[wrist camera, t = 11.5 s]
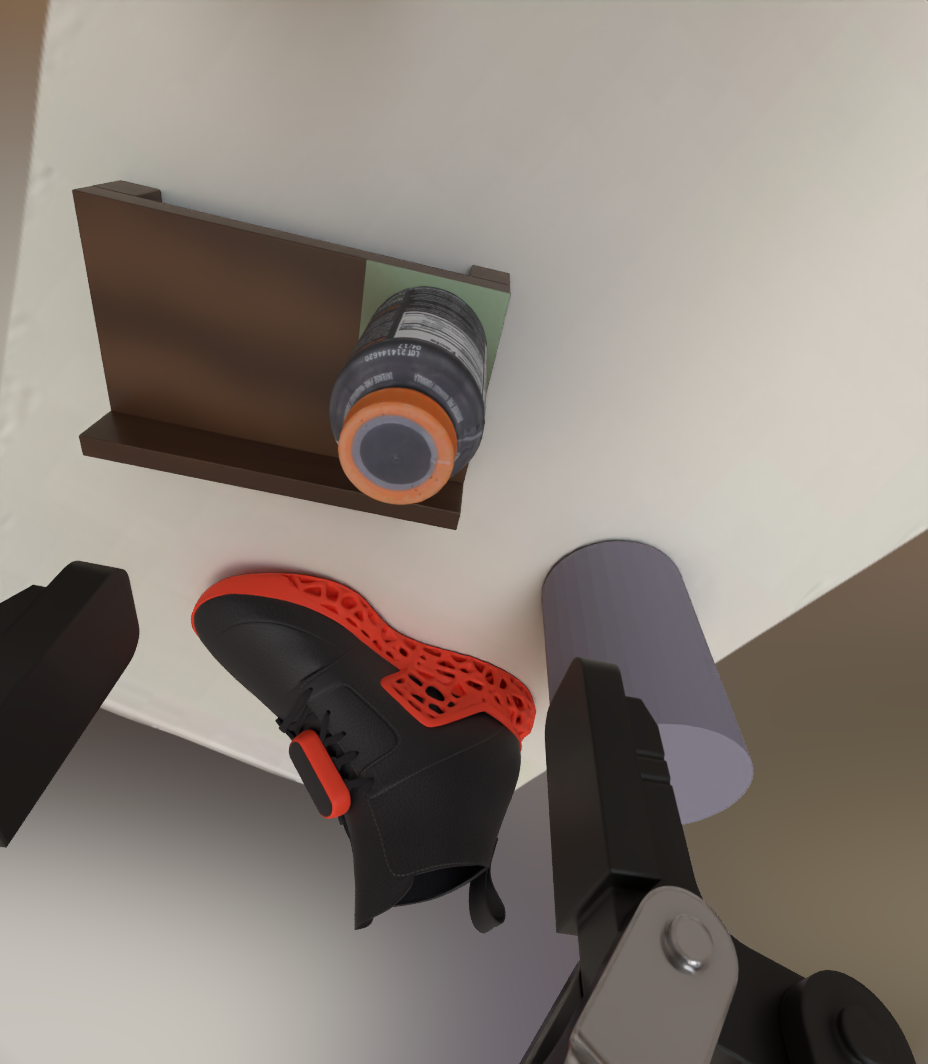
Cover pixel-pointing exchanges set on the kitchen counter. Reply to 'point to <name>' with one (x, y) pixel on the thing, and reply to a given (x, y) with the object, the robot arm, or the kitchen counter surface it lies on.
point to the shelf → (242, 345)
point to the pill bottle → (411, 396)
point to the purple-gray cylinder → (650, 662)
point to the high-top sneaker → (379, 733)
